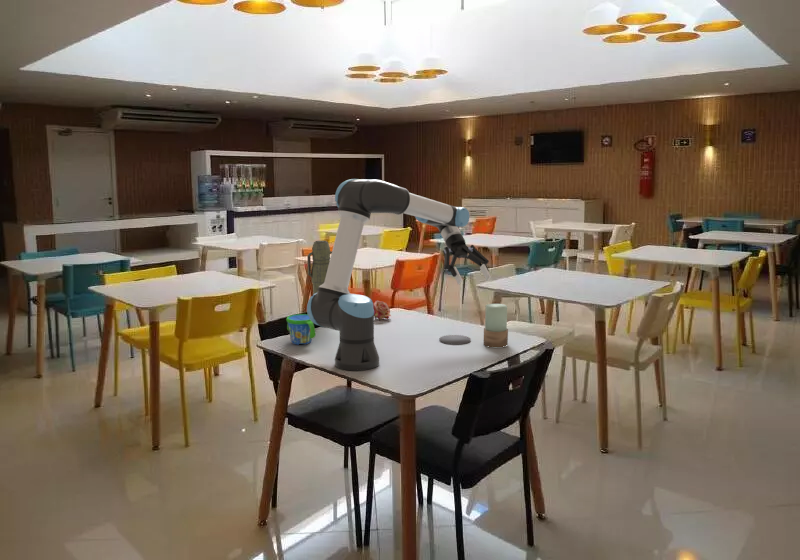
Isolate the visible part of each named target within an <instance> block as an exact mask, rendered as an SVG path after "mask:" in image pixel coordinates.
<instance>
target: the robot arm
mask: <svg viewBox="0 0 800 560" xmlns="http://www.w3.org/2000/svg"><path fill="white" fill-rule="evenodd" d="M334 201H335V202H336V203H335V204H336V206H337V208H338V209H337V214H338V215H339V218H340V220H339V223H338V227H337V231H336V235H335V239H334V243H333V247H332V254H330V262H329V266H328V270H327V274H326V278H325V282H324V283H323V284H322V285H320V286H319V288H318V292H317V293H315V294H313V293H312V295H311V296H310V297H309V299H308V302H307V304H306V311H307V314H308V316H309V318H310V320H311V321H312V322H313V324H314V325H315V326H319V327H321V328H324V329H328V330H329V329H331V330H334V331H338V332H339V344H338V347H337V350H336V354H335V358H334V366H335V367H336V368H337V369H340V368H341V369H340V370H345V371H353V372H355V371H356V372H357V371H366V370H367V371H368V370H371V369H374V368H377V367H378V366H379V365H380V356H379V353H378V349H377V347H376V343H375V316H374V309H373V304H374V302H373V300H372V299H371V298H370V297H368V296H366V295H362V294H356V293H351V292H350V290H349V284H350V281H351V279H352V278H351V277H352V274H353V269H354V265H355V262H356V257H357V253H358V249H359V245H360V241H361V239H362V234H363V229H364V225H365V224H366V223H368V222H369V221H370V219H371V215H372V214H394V215H402V214H405V215H409V216H414V217H415V219H416V220H417V222H420V223H422V224H425V225H429V226H430V227H435V228H437V229H438V231H439V233H440V235H441V238H442V239H443V241H444V242H445V246H446V247H445V248H444V250H443V251H442V252H443V255H444V256H443V257H444V259H443V261H444V262H443V270H445V271H447V272H449V273H450V274H451V276H452V277H454V279H455V281H456V283H457V285H460V284H461V283H462V282H463V278H462V276H461V275H460V272H459V270H458V268H457V267H456V266H455V264H456V262H457V259H464V258H465V259H467V260H470V261H471V262H473V263H474V264H476V265H478V266H479V269H480V271H481V273H482V275H483V277H484V278H485V281H486V282H488V281H490V279H491V278H492V276H491V274H490V272H489V268H488V266H487V265H488V263H489V262H490V261H489V260H488V259H487V257H485V255H483V254H482V253H481V252H480V251H479V250H477V249H476V247H475V245H473V244H471V245H470V246H468V245H467V244H466V239H465V238H464V236H463V234H462V232H461V230H460V229H459V227H461V228H463V227H465V226H467V225H468V223H469V222H470V215H471V214H470V211H469V210H468V209H467V208H466V207H462V206H454V205H451V204H447V203H443V202H441V201H437V200H434V199H432V198H431V199H430V198H428V197H424V196H423V195H422V196H421V195H417V194H415V193H413V192H412V193H411V192H409V190H408V189H407V188H405V187H402V186H398V185H397V184H394V183H390V182H387V181H385V180H381V179H366V178H365V179H364V178H361V179H359V178H351V179H347V180H345V181H343V182H341V183H340V184H339V185H338V187H337V188H336V191H335V194H334ZM450 255H452V257H451V258H450ZM450 259H451V261H450Z"/></svg>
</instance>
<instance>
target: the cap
mask: <svg viewBox="0 0 800 560" xmlns="http://www.w3.org/2000/svg"><path fill="white" fill-rule="evenodd" d="M484 318H485V319H484V321H485V324H484V328H485V330H487V331H491V332H503V331H506V330H507V329H508V328H507V325H508V305H506V304H504V303H488V304H485V317H484Z"/></svg>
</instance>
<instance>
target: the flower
mask: <svg viewBox="0 0 800 560" xmlns="http://www.w3.org/2000/svg"><path fill="white" fill-rule="evenodd" d="M373 309H374V319H378V320H379V321H381V320H382V319H383V320H384V319H386V320H389V319H390V317H392V314H391V310H390V308H389V304H387V302H384V301H382V300H381V301H380V300H378V299H377V300H375V302H373Z"/></svg>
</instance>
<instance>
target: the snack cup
mask: <svg viewBox="0 0 800 560" xmlns="http://www.w3.org/2000/svg"><path fill="white" fill-rule="evenodd" d="M285 320H286V323H287V324H286V329H287V331H288V332H289V336H290V342H291V344H293V345H296V346H300V345H299V344H305V345H308V344H310V343H311V342H312V340H313V339H314V338H315V337H316V329H315V324H314V323H313V322H312V321H311V320H310V318H309V316H308V313H307V314H306V313H299V314H290V315H288V316H287V317H286V319H285Z"/></svg>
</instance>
